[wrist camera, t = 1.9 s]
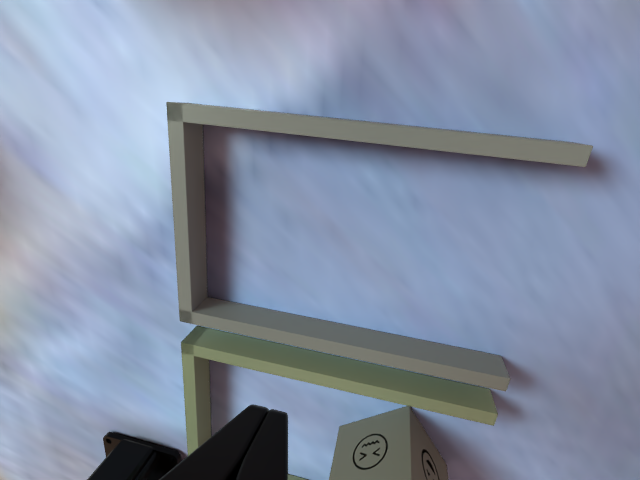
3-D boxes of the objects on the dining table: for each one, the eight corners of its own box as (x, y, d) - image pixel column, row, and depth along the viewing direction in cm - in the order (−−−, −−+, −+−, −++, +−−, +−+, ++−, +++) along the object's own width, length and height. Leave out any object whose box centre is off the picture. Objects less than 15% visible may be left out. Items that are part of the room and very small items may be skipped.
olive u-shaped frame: (497, 367, 19) (505, 391, 18) (196, 305, 22) (179, 321, 21) (572, 142, 15) (593, 145, 13) (187, 103, 18) (166, 101, 16)
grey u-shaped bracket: (444, 526, 24) (447, 556, 23) (202, 457, 27) (189, 479, 26) (489, 389, 20) (497, 414, 18) (196, 325, 23) (181, 342, 21)
